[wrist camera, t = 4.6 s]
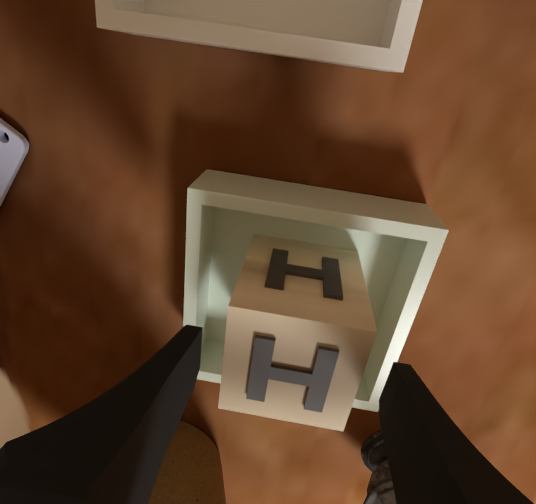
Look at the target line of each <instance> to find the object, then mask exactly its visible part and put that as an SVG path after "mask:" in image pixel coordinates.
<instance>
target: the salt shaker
mask: <svg viewBox="0 0 536 504" xmlns="http://www.w3.org/2000/svg"><path fill="white" fill-rule="evenodd" d="M362 459H363V461H364V463H365V465H366V466H367V467H368V468H369V469H370V470H371V471H372V472H373V473H372V475H371V477H370V481H369V484H368V488H367V497H366V499H365V501H364V503H363V504H396V498H395V493H394V488H393V483H392V478H391V474H390V469H389V464H388V460H387V455H386V450H385V445H384V441H383V436H382V431H379V432H377V433H375V434H373V435H372V436H370V437H369V438H368V439H367V441H366V442H365V443H364V445H363V448H362Z"/></svg>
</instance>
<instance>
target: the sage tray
mask: <svg viewBox="0 0 536 504" xmlns="http://www.w3.org/2000/svg"><path fill="white" fill-rule="evenodd" d="M448 231H449V230H448V229H447V227H446V226H445V225H444V224H443V223H442V221H441V220H440V219H439V218H438V217H437V215H436V214H435V213H434V212H433V211H432V209H431V208H430V207H429V206H428V205H427V204H423V203H416V202H410V201H404V200H398V199H391V198H385V197H379V196H373V195H366V194H360V193H354V192H348V191H341V190H335V189H329V188H323V187H316V186H310V185H304V184H298V183H291V182H285V181H279V180H273V179H266V178H260V177H254V176H248V175H241V174H235V173H229V172H223V171H216V170H210V169H207V170H206V171H205V172H203V173H202V174H201V175H200V176H199V177H198V178H197V179H196V180H195V181H194V182H193V183H192V184H191V185H190V186H189V187H188V188H187V218H186V252H185V285H184V318H183V327H184V326H185V325H192V326H198V327H203V328H202V345H201V361H200V370H199V373H198V376H197V379H199V380H205V381H210V382H216V383H221V375H222V365H223V354H224V344H225V334H226V324H227V314H228V305H229V302H230V300H231V297H232V294H233V291H234V288H235V286H236V283H237V280H238V277H239V275H240V272H241V269H242V266H243V263H244V261H245V258H246V255H247V252H248V249H249V247H250V244H251V241H252V238H253V235H254V234H258V235H264V236H270V237H276V238H282V239H288V240H294V241H300V242H306V243H312V244H318V245H324V246H330V247H336V248H342V249H348V250H354V251H358V254H359V258H360V263H361V267H362V271H363V275H364V279H365V283H366V287H367V291H368V295H369V300H370V304H371V308H372V312H373V316H374V320H375V324H376V328H377V334H376V337H375V340H374V343H373V346H372V349H371V352H370V355H369V358H368V361H367V364H366V367H365V370H364V373H363V375H362V378H361V381H360V384H359V387H358V390H357V393H356V396H355V399H354V402H353V405H352V408H358V409H363V410H369V411H374V412H378V410H379V399H380V396H381V393H382V391H383V388H384V386H385V383H386V380H387V378H388V375H389V373H390V370H391V367H392V365H393V362H397V361H398V359H399V356H400V354H401V351H402V348H403V346H404V343H405V341H406V338H407V336H408V333H409V331H410V328H411V325H412V323H413V320H414V318H415V315H416V313H417V310H418V308H419V305H420V302H421V300H422V297H423V295H424V292H425V290H426V287H427V285H428V282H429V280H430V277H431V274H432V272H433V269H434V267H435V264H436V262H437V259H438V257H439V254H440V251H441V249H442V246H443V244H444V241H445V239H446V236H447V234H448Z"/></svg>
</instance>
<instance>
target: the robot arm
mask: <svg viewBox="0 0 536 504" xmlns="http://www.w3.org/2000/svg"><path fill="white" fill-rule="evenodd" d="M4 133H6V134H7V135H8V137H9V141H8V140H7V139H6V138H5V135H4ZM28 150H29V143H28V141H27V139H26V138H25V137H24V136H23V135H22V134H21V133H19V132H18V131H17V130H15V129H14V128H13V127H12V126H10V125H9V124H8V123H6V122H5V121H4V120H2V119H1V118H0V206H1V204H2V202H3V200H4V198H5V196H6V194H7V192H8V190H9V188H10V186H11V184H12V182H13V180H14V178H15V176H16V174H17V172H18V170H19V168H20V166H21V164H22V162H23V160H24V158H25V156H26V154H27V152H28ZM202 328H203V327H198V326H192V325H185V326H184V327H183V328H182V329H181V330H180V331H179V332H178V333H177V334H176V335H175V336H174V337H173V338H172V339H171V340H170V341H169V342H168V343H167V344H166V345H165V346H164V347H163V348H162V349H160V350H159V351H158V352H157V353H156V354H155V355H154V356H153V357H152V358H150V359H149V360H148V361H147V362H146V363H145V364H143V365H142V366H141V367H140V368H138V369H137V370H136V371H135V372H133V373H132V374H131V375H130V376H128V377H127V378H126V379H124V380H123V381H121V382H120V383H119V384H117V385H116V386H114V387H113V388H111V389H110V390H109V391H107V392H105V393H104V394H102V395H101V396H99V397H97V398H96V399H94V400H93V401H91V402H89V403H88V404H86V405H84V406H83V407H81V408H79V409H77V410H75V411H73V412H72V413H70V414H68V415H66V416H64V417H62V418H60V419H58V420H56V421H54V422H52V423H50V424H48V425H46V426H44V427H41V428H39V429H37V430H34V431H32V432H30V433H27V434H25V435H23V436H20V437H18V438H16V439H13V440H11V441H8V442H6V443H5V444H4V446H3V447H2V448H1V449H0V504H148V502H149V499H150V496H151V493H152V490H153V487H154V484H155V481H156V478H157V476H158V473H159V470H160V467H161V464H162V461H163V458H164V456H165V453H166V451H167V448H168V446H169V444H170V442H171V439H172V437H173V435H174V433H175V430H176V428H177V426H178V424H179V421H180V419H181V417H182V415H183V412H184V410H185V408H186V406H187V403H188V401H189V399H190V397H191V394H192V392H193V389H194V386H195V382H196V379H197V376H198V373H199V370H200V361H201V345H202ZM379 412H380V423H381V431H382V436H383V441H384V445H385V450H386V455H387V460H388V464H389V469H390V474H391V478H392V483H393V488H394V493H395V498H396V504H534V503H533V502H531V501H530V500H529V499H528V498H527V497H526V496H524V495H523V494H522V493H521V492H520V491H519V490H518V489H517V488H516V487H515V486H514V485H512V484H511V483H510V482H509V481H508V480H507V479H506V478H505V477H504V476H503V475H502V474H501V473H500V472H499V471H498V470H497V469H496V468H495V467H494V466H493V465H492V464H491V463H490V462H489V461H488V460H487V459H486V458H485V457H484V456H483V455H482V454H481V453H480V452H479V451H478V450H477V449H476V448H475V446H474V445H473V444H472V443H471V442H470V441H469V440H468V439H467V437H466V436H465V435H464V434H463V433H462V432H461V430H460V429H459V428H458V427H457V426H456V425H455V423H454V422H453V421H452V420H451V418H450V417H449V416H448V415H447V413H446V412H445V411H444V410H443V408H442V407H441V406H440V404H439V403H438V402H437V400H436V399H435V398H434V396H433V395H432V394H431V392H430V391H429V390H428V388H427V387H426V386H425V384H424V383H423V381H422V380H421V379H420V377H419V376H418V374H417V373H416V372H415V370H414V369H413V368H412V366H411V365H409V364H403V363H398V362H393V365H392V367H391V370H390V373H389V375H388V378H387V380H386V383H385V386H384V388H383V391H382V393H381V396H380V399H379Z"/></svg>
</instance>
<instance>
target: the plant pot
mask: <svg viewBox="0 0 536 504" xmlns="http://www.w3.org/2000/svg"><path fill="white" fill-rule="evenodd" d="M148 504H226V499H225V491H224V482H223V474H222V467H221V460H220V455H219V451H218V449H217V447H216V445H215V444H214V443H213V441H212V440H211V439H210V438H209V437H208V436H207V435H206V434H205V433H204V432H202V431H201V430H199V429H198V428H196V427H195V426H193V425H191V424H189V423H186V422H183V421H179V424H178V426H177V428H176V430H175V433H174V435H173V437H172V439H171V442H170V444H169V446H168V448H167V451H166V453H165V456H164V458H163V461H162V464H161V467H160V470H159V473H158V476H157V478H156V481H155V484H154V487H153V490H152V493H151V496H150V499H149V502H148Z"/></svg>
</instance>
